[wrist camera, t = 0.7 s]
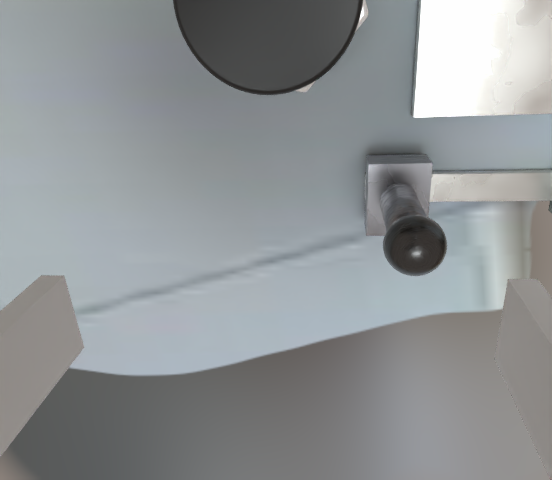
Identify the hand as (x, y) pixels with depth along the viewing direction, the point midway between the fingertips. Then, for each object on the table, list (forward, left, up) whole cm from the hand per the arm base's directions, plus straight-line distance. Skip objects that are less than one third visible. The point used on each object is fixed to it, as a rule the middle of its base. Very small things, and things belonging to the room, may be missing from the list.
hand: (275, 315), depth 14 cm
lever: (+3, +6, -21) cm, 22 cm away
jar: (-9, -1, -22) cm, 24 cm away
